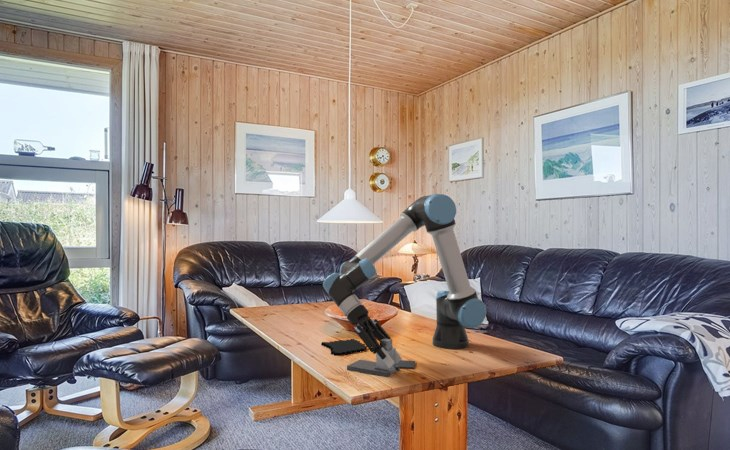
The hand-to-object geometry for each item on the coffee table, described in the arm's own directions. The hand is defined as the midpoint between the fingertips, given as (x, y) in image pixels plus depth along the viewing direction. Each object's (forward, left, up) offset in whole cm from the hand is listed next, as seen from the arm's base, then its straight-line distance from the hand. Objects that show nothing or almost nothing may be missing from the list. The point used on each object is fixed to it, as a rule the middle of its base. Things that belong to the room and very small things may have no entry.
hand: (395, 363), depth 153 cm
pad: (-2, -10, -3) cm, 11 cm away
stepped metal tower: (+3, -1, -3) cm, 5 cm away
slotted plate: (+8, -3, -3) cm, 9 cm away
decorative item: (+25, -30, -4) cm, 40 cm away
